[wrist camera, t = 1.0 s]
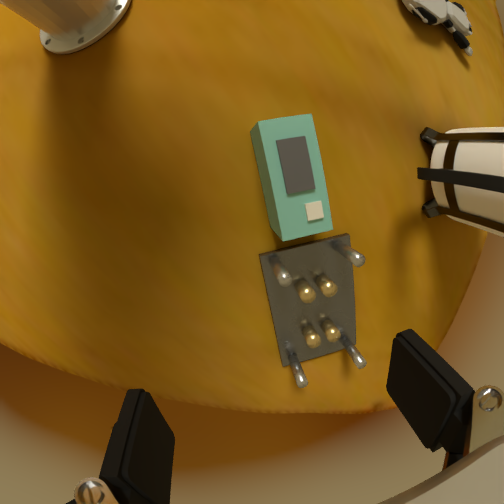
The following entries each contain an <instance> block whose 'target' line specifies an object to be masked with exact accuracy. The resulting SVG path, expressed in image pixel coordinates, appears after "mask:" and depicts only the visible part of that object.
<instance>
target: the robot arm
mask: <svg viewBox="0 0 504 504" xmlns="http://www.w3.org/2000/svg"><path fill="white" fill-rule="evenodd" d="M130 2H131V0H0V3H1V4H3V5H4V6H6V7H8V8H9V9H11V10H12V11H14V12H16V13H17V14H19V15H20V16H22V17H23V18H25V19H26V20H28V21H29V22H31V23H32V24H34V25H35V26H37V27H38V28H40V40H41V43H42V45H43V46H44V47H45V48H46V49H47V50H49V51H50V52H53V53H55V54H68V53H72V52H76V51H79V50H81V49H83V48H85V47H87V46H89V45H91V44H93V43H94V42H96V41H97V40H99V39H100V38H102V37H103V36H104V35H105V34H107V33H108V32H109V31H110V30H111V29H112V28H113V27H114V26H115V25H116V24H117V23H118V22H119V21H120V20H121V18H122V17H123V15H124V14H125V13H126V11H127V9H128V7H129V5H130ZM386 388H387V392H388V394H389V395H390V397H391V398H392V399H393V401H394V402H395V404H396V405H397V407H398V408H399V410H400V411H401V412H402V414H403V415H404V417H405V418H406V420H407V421H408V423H409V424H410V426H411V427H412V428H413V430H414V432H415V433H416V435H417V436H418V438H419V439H420V440H421V442H422V444H423V445H424V446H425V447H426V448H430V449H431V451H432V452H435V451H436V450H438V449H440V448H441V447H443V448H444V449H445V450H446V454H445V459H444V464H443V469H442V471H441V472H440V473H438V474H436V475H434V476H433V477H431V478H429V479H427V480H425V481H424V482H422V483H420V484H418V485H416V486H414V487H412V488H411V489H408V490H407V491H405V492H403V493H400V494H398V495H396V496H394V497H392V498H390V499H387V500H385V501H383V502H380V503H378V504H504V393H503V391H502V390H501V389H499V388H498V387H496V386H491V385H488V386H483V387H480V388H479V389H478V390H477V391H476V392H475V391H474V390H473V388H472V387H471V386H470V385H469V384H468V383H467V382H466V381H465V380H464V379H463V378H462V377H461V376H460V375H459V374H458V373H457V372H456V371H455V370H454V369H453V368H452V367H451V366H450V365H449V364H448V363H447V362H446V361H445V360H444V359H443V358H442V357H441V356H440V355H439V354H438V353H437V352H436V351H435V350H434V349H432V348H431V347H430V346H429V345H428V344H427V343H426V342H425V341H424V340H423V339H422V338H421V337H420V336H419V335H418V334H417V333H415V332H414V331H413V330H412V329H407V330H405V331H402V332H400V333H397V335H396V338H394V339H393V344H392V352H391V360H390V366H389V373H388V379H387V385H386ZM174 445H175V437H174V434H173V432H172V430H171V429H170V427H169V426H168V424H167V422H166V421H165V419H164V417H163V416H162V414H161V412H160V411H159V409H158V407H157V406H156V404H155V402H154V400H153V398H152V396H151V395H150V393H149V392H145V390H144V389H129V390H128V391H127V393H126V396H125V399H124V402H123V405H122V408H121V411H120V414H119V418H118V421H117V422H116V423H115V425H114V427H113V430H112V433H111V437H110V440H109V443H108V447H107V450H106V453H105V457H104V461H103V464H102V468H101V471H100V475H99V479H98V478H94V477H89V478H86V479H83V480H82V481H80V482H79V483H78V484H77V485H76V488H75V490H74V497H75V499H73V500H72V501H70V502H68V503H66V504H170V489H171V477H172V465H173V455H174Z"/></svg>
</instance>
